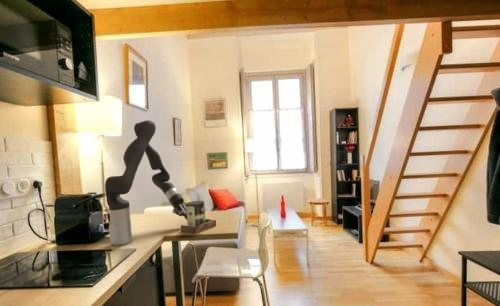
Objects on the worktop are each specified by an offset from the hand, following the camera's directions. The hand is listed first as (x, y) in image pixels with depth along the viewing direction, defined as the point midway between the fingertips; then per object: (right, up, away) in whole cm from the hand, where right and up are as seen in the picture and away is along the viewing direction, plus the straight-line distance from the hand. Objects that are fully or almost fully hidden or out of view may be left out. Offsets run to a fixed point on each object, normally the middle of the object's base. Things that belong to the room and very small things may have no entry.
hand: (189, 219), depth 160 cm
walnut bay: (+6, -4, -5) cm, 8 cm away
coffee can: (+5, -4, -3) cm, 7 cm away
